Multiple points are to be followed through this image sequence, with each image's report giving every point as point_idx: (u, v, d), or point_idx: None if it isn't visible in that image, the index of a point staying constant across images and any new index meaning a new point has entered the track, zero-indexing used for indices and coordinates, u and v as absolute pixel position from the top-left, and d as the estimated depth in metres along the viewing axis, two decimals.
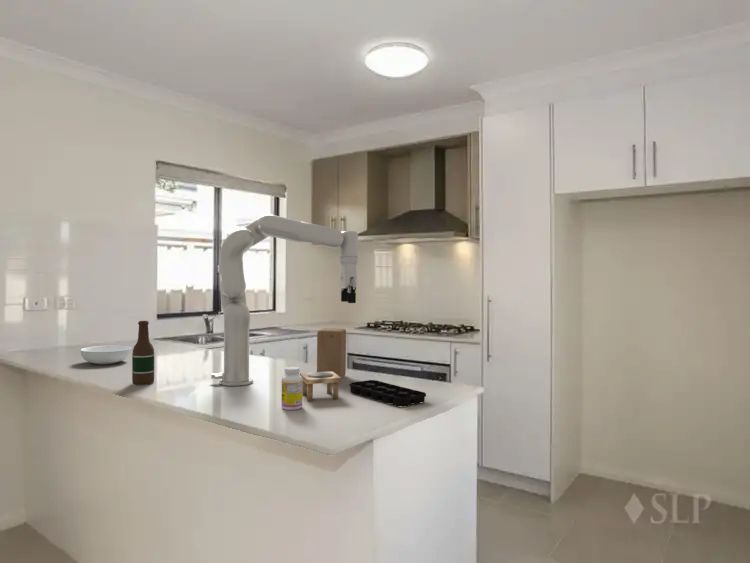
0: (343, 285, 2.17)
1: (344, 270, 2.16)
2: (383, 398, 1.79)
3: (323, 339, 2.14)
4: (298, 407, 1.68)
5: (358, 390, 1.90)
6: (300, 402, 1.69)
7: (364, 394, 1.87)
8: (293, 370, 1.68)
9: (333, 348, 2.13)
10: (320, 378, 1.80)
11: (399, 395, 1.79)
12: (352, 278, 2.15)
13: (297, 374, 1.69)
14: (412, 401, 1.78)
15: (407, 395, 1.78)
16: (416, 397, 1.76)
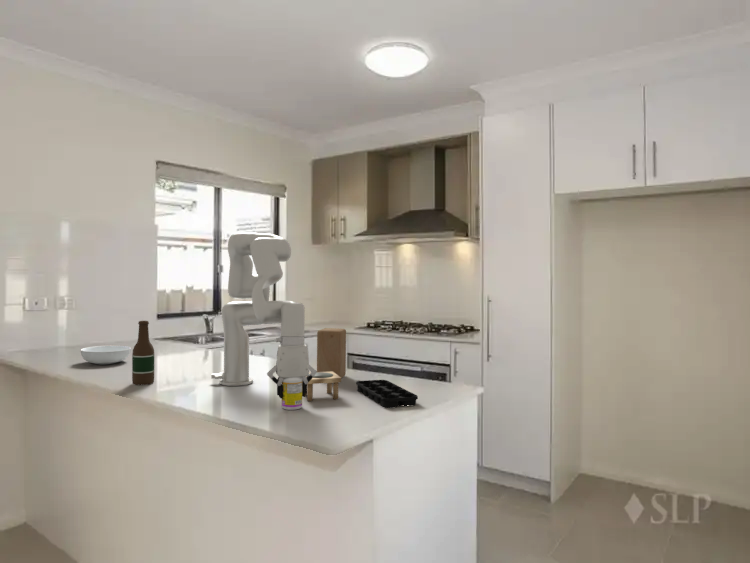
0: (300, 373, 1.68)
1: (304, 354, 1.69)
2: (375, 398, 1.79)
3: (323, 339, 2.14)
4: (298, 407, 1.68)
5: (362, 388, 1.93)
6: (300, 402, 1.69)
7: (364, 393, 1.89)
8: None
9: (333, 348, 2.13)
10: (320, 378, 1.80)
11: (390, 396, 1.77)
12: (308, 364, 1.72)
13: None
14: (401, 403, 1.75)
15: (397, 396, 1.76)
16: (403, 399, 1.73)
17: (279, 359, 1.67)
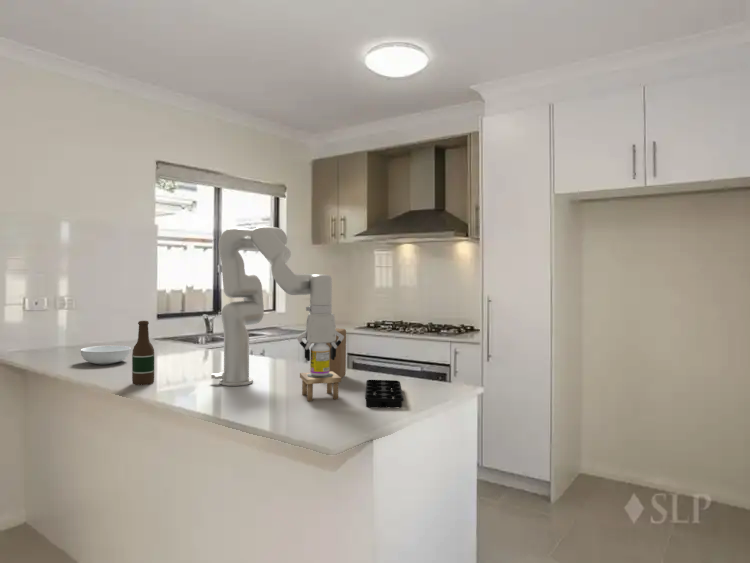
0: (328, 339, 1.84)
1: (332, 322, 1.84)
2: None
3: None
4: (326, 374, 1.84)
5: None
6: (327, 369, 1.84)
7: None
8: None
9: None
10: (320, 378, 1.80)
11: (378, 396, 1.77)
12: (335, 330, 1.87)
13: (325, 343, 1.84)
14: (385, 404, 1.74)
15: (383, 397, 1.75)
16: (386, 400, 1.72)
17: (309, 326, 1.82)
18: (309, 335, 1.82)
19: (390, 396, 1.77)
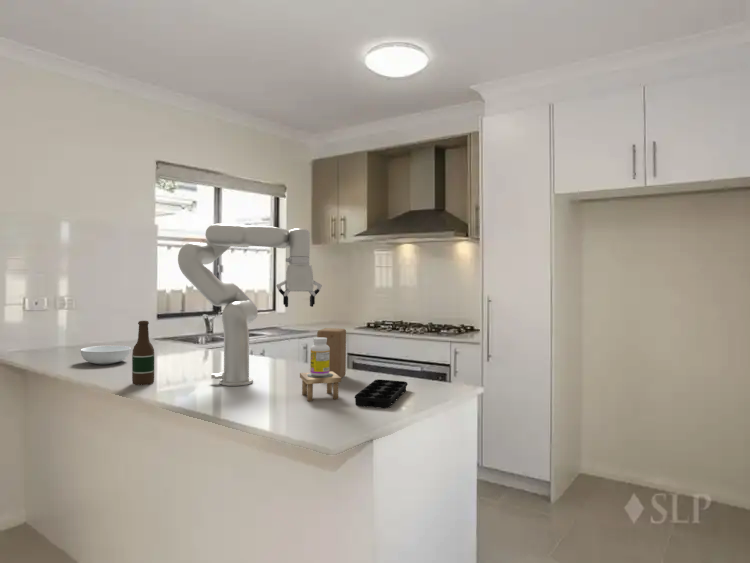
0: (306, 288, 2.00)
1: (309, 272, 2.00)
2: None
3: None
4: (326, 374, 1.84)
5: None
6: (327, 369, 1.84)
7: None
8: (321, 340, 1.83)
9: (333, 348, 2.13)
10: (320, 378, 1.80)
11: (370, 395, 1.78)
12: (313, 280, 2.03)
13: (325, 343, 1.85)
14: None
15: (374, 397, 1.76)
16: (373, 399, 1.72)
17: (288, 275, 1.98)
18: (288, 284, 1.98)
19: (382, 396, 1.77)
